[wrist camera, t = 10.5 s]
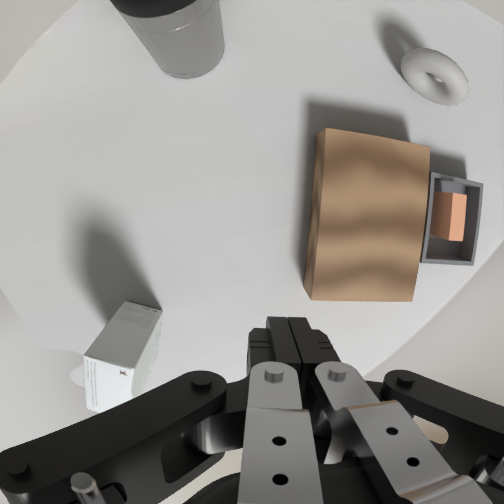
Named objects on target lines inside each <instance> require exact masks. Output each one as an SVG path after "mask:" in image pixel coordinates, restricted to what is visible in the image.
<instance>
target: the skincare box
mask: <svg viewBox="0 0 504 504" xmlns="http://www.w3.org/2000/svg"><path fill="white" fill-rule="evenodd" d="M162 312H163V311H162V310H158V309H154V308H150V307H146V306H143V305H140V304H136V303H132V302H129V301H125V302H124V303H123V304H122V305H121V307H120V308H119V309H118V310H117V312H116V313H115V314H114V316H113V317H112V318H111V319H110V321H109V322H108V323H107V325H106V326H105V327H104V329H103V330H102V331H101V333H100V334H99V335H98V337H97V338H96V339H95V341H94V342H93V343H92V345H91V346H90V348H89V349H88V350H87V352H86V353H85V354H84V355H83V365H84V385H85V397H86V407H87V409H90V410H93V411H96V412H99V413H102V412H104V411H106V410H108V409H111V408H113V407H115V406H118V405H120V404H122V403H124V402H126V401H129V400H131V399H133V398H135V397H137V396H140V395H142V392H143V390H144V387H145V385H146V382H147V379H148V377H149V374H150V372H151V369H152V367H153V364H154V362H155V359H156V357H157V352H158V344H159V336H160V329H161V318H162Z"/></svg>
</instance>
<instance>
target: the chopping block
mask: <svg viewBox="0 0 504 504" xmlns="http://www.w3.org/2000/svg"><path fill="white" fill-rule="evenodd" d="M429 165H430V147H427V146H423V145H419V144H414V143H410V142H405V141H400V140H395V139H390V138H385V137H380V136H375V135H369V134H363V133H357V132H351V131H345V130H338V129H331V128H325V129H323V130H322V131H320V132H319V133H317V134H316V145H315V162H314V177H313V191H312V204H311V216H310V228H309V239H308V249H307V259H306V269H305V278H304V289H305V291H306V292H307V294H308V296H309V297H310V299H311V300H320V301H381V302H411V301H412V299H413V294H414V289H415V284H416V279H417V273H418V267H419V261H420V255H421V248H422V241H423V233H424V225H425V216H426V207H427V196H428V182H429Z"/></svg>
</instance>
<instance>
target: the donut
mask: <svg viewBox="0 0 504 504" xmlns="http://www.w3.org/2000/svg"><path fill="white" fill-rule="evenodd" d="M401 72H402V74H403V77H404V79H405V80H406V81H407V83H408V84H409V86H410V87H411V88H413V89H414V90H415V91H416V92H417V93H418V94H420V95H421V96H423V97H424V98H426V99H428V100H430V101H432V102H435V103H438V104H440V105H447V106H451V105H457V104H459V103H461V102H462V101H464V100H465V99H466V97H467V94H468V91H469V87H468V80H467V78H466V76H465V74H464V72H463V70H462V69H461V68H460V67H459V66H458V65H457V64H456V62H454V61H453V60H452V59H451V58H449V57H448V56H446V55H445V54H443V53H440V52H438V51H436V50H432V49H428V48H415V49H413V50H410V51H408V52H406V54H405V55H404V56H403V58H402V59H401ZM426 72H427V73H431V74H433V75H435V76H437V77H438V78H439V79H441V80H442V81H443V82H440V81H437V80H435V79H433V78H432V77H430V76H429V75H428V74H427V73H426Z"/></svg>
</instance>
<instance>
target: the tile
mask: <svg viewBox="0 0 504 504" xmlns="http://www.w3.org/2000/svg"><path fill="white" fill-rule="evenodd" d="M466 200H467V195H463V194H457V193H449V192H438V191H434V193H433V204H432V214H431V223H430V231H429V234H431V235H434V236H437V237H440V238H443V239H446V240H452V241H463V234H464V224H465V213H466Z"/></svg>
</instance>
